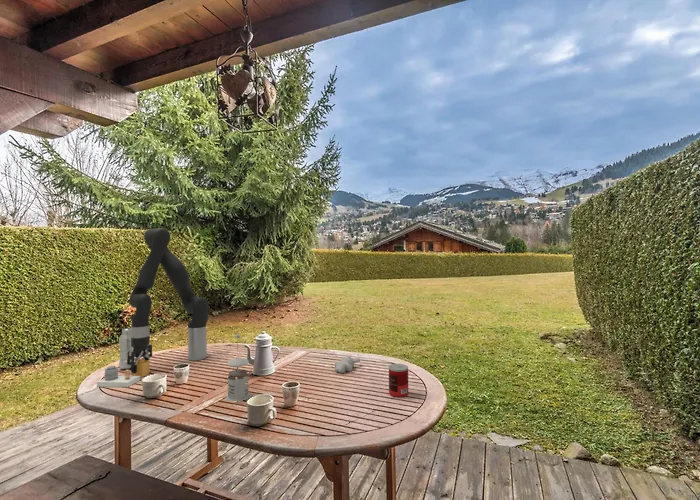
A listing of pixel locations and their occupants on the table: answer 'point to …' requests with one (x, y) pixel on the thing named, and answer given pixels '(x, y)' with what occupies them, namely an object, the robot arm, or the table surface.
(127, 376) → the copper post
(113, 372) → the capped post
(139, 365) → the domed tan cube
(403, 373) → the canned food
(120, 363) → the plastic bottle
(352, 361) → the bunny figurine
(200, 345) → the robot arm
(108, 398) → the table surface
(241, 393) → the french press
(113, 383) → the white rectangular plate
